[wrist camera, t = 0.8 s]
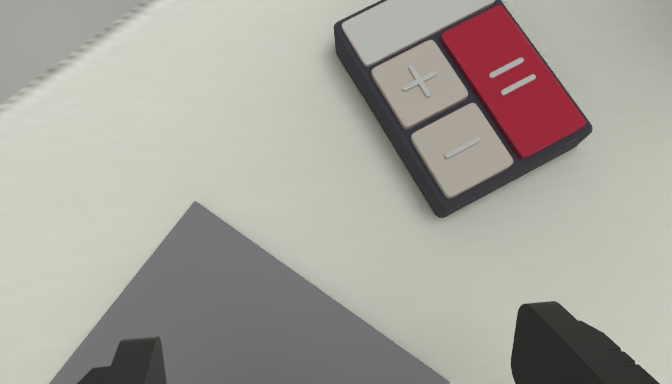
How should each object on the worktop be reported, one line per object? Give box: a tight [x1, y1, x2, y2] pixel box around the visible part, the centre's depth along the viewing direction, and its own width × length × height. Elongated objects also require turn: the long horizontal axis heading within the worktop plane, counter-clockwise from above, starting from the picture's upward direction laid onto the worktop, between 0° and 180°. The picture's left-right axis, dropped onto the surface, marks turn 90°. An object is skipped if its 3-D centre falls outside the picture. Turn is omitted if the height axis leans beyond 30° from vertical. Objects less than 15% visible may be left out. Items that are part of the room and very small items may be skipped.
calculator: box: [334, 0, 592, 218], centre depth 35 cm, size 11×4×15 cm
